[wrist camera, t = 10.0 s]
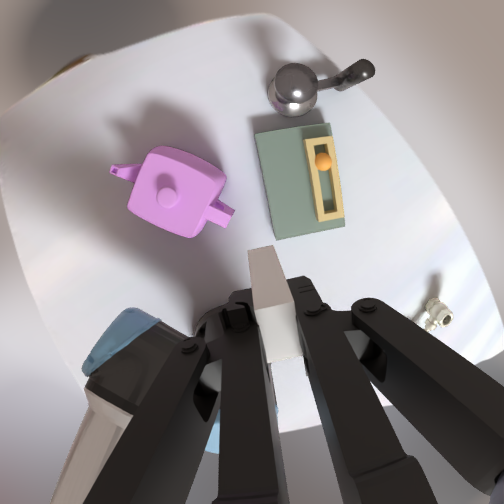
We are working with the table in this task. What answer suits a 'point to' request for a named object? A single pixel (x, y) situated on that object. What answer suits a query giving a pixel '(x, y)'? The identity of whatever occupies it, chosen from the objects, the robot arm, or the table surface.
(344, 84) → the cam capstan
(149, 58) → the table surface
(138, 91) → the table surface
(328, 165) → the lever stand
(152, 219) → the teapot
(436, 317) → the valve
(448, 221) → the table surface
